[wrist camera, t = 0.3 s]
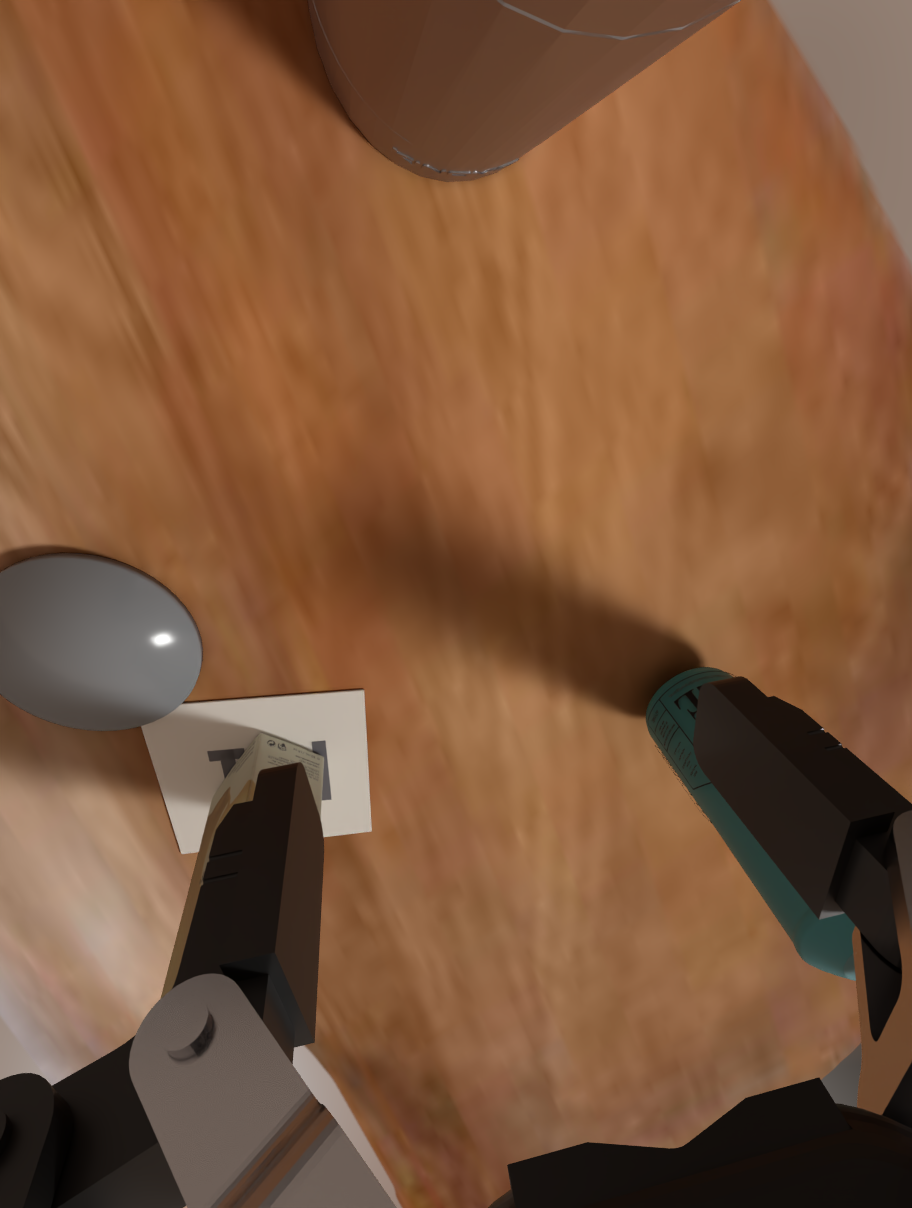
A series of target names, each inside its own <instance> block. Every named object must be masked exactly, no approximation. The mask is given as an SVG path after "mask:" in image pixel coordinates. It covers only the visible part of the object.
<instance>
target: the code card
mask: <svg viewBox="0 0 912 1208" xmlns="http://www.w3.org/2000/svg"><path fill="white" fill-rule="evenodd" d="M141 728H142V731H143V734H144V738H145V741H146V744H147V747H148V750H149V753H150V756H151V760H152V763H153V766H154V769H155V772H156V775H157V778H158V782H159V785H160V788H161V791H162V794H163V797H164V800H165V804H166V807H167V810H168V813H169V816H170V819H171V822H172V826H173V829H174V832H175V835H176V838H177V841H178V844H179V848H180V851H181V854H187V853H195V852H199V849H200V845H201V841H202V837H203V833H204V829H205V825H206V821H207V817H208V813H209V809H210V805H211V801H212V798H213V796H214V794H215V793H216V791H217V790H218V788H219V787H220V785H221V784H222V782H223V781H224V779H225V778H226V777H227V775H228V773H229V772H230V771H231V769H232V768H233V767H234V765H235V764H236V762H237V761H238V760H239V758H240V757H241V756H242V755H243V753H244V752H245V751H246V749H247V748H248V747H249V746H250V744H251V743H252V742H253V741H254V739H255V738H256V737H257V736H258V735H259V734H261V733H262V734H265V735H268V736H271V737H274V738H277V739H280V740H282V741H285V742H288V743H291V744H293V745H296V746H298V747H301V748H303V749H306V750H308V751H311V752H313V753H316V754H318V755H321V756H323V757H324V769H323V787H322V804H321V823H322V829H323V837H329V836H337V835H346V834H354V833H362V832H371V831H372V828H371V809H370V791H369V772H368V754H367V735H366V717H365V698H364V689H362V690H349V691H336V692H323V693H310V694H297V695H283V696H270V697H257V698H244V699H231V700H218V701H205V702H192V703H182V704H181V705H180V706H178V707H177V708H176V709H175V710H174V711H172V712H171V713H169V714H168V715H166V716H164V717H162V718H160V719H158V720H156V721H154V722H152V723H149V724H146V725H143V726H141Z"/></svg>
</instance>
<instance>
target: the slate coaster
mask: <svg viewBox="0 0 912 1208" xmlns="http://www.w3.org/2000/svg"><path fill="white" fill-rule="evenodd" d="M202 661H203V647H202V640H201V636H200V633H199V630H198V627H197V625H196V623H195V621H194V619H193V617H192V615H191V614H190V612H189V611H188V609H187V608H186V607H185V605H184V604H183V603H182V602H181V601H180V600H179V599H178V597H177V596H176V595H174V594H173V593H172V592H171V591H170V590H169V589H168V588H167V587H166V586H164V585H163V584H161V583H160V582H159V581H157V580H156V579H154V578H153V577H151V576H149V575H148V574H146V573H144V572H142V571H141V570H138V569H136V568H134V567H132V566H129V565H127V564H124V563H122V562H119V561H116V560H113V559H109V558H105V557H100V556H96V555H89V554H81V553H55V554H45V555H40V556H36V557H31V558H28V559H25V560H22V561H20V562H17V563H15V564H13V565H11V566H9V567H7V568H5V569H4V570H3V571H1V572H0V694H1V695H2V696H3V697H4V698H6V699H7V700H8V701H10V702H11V703H13V704H14V705H16V706H17V707H19V708H20V709H22V710H24V711H26V712H28V713H30V714H32V715H34V716H36V717H39V718H41V719H44V720H46V721H49V722H52V723H55V724H58V725H62V726H67V727H71V728H76V729H83V730H94V731H115V730H124V729H131V728H135V727H139V726H143V725H146V724H149V723H152V722H154V721H156V720H158V719H160V718H162V717H164V716H166V715H168V714H169V713H171V712H172V711H174V710H175V709H176V708H177V707H178V706H180V705H181V704H182V703H183V702H184V700H185V699H186V698H187V697H188V696H189V694H190V693H191V691H192V689H193V688H194V686H195V683H196V681H197V678H198V676H199V673H200V670H201V666H202Z"/></svg>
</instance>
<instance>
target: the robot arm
mask: <svg viewBox="0 0 912 1208" xmlns="http://www.w3.org/2000/svg"><path fill="white" fill-rule="evenodd" d="M739 1H741V0H308V7H309V12H310V17H311V21H312V26H313V31H314V36H315V40H316V45H317V50H318V52H319V55H320V58H321V60H322V63H323V66H324V68H325V71H326V74H327V76H328V79H329V82H330V84H331V87H332V89H333V90H334V92H335V94H336V96H337V97H338V99H339V101H340V102H341V104H342V106H343V108H344V109H345V111H346V113H347V115H348V116H349V118H350V120H351V121H352V122H353V123H354V124H355V126H356V127H357V128H358V129H359V130H360V132H361V133H362V134H363V135H364V136H365V138H366V139H367V140H368V141H369V142H370V144H371V145H372V146H374V147H375V148H376V149H377V150H379V151H380V152H381V153H382V154H384V155H385V156H386V157H387V158H389V159H390V160H391V161H392V162H394V163H395V164H396V165H399V166H401V167H403V168H405V169H407V170H409V171H411V172H413V173H415V174H417V175H419V176H421V177H426V178H430V179H435V180H440V181H445V182H455V181H472V180H475V179H478V178H481V177H484V176H487V175H491V174H494V173H497V172H498V171H500V170H501V169H503V168H505V167H506V166H508V165H511V164H513V163H515V162H516V161H518V160H519V158H520V157H522V156H523V155H524V154H526V153H527V152H529V151H530V150H531V149H533V148H534V147H536V146H537V145H539V144H541V143H542V142H543V141H545V140H546V139H548V138H549V137H550V136H552V135H553V134H555V133H556V132H557V131H559V130H560V129H562V128H563V127H564V126H566V125H567V124H569V123H570V122H571V121H573V120H574V119H576V118H577V117H578V116H580V115H581V114H583V113H584V112H585V111H587V110H588V109H590V108H591V107H592V106H594V105H595V104H597V103H598V102H599V101H601V100H602V99H604V98H605V97H606V96H608V95H609V94H611V93H612V92H613V91H615V90H616V89H618V88H619V87H620V86H622V85H623V84H625V83H626V82H627V81H629V80H630V79H632V78H633V77H634V76H636V75H637V74H639V73H640V72H641V71H643V70H644V69H646V68H647V67H648V66H650V65H651V64H653V63H654V62H655V61H657V60H658V59H660V58H661V57H662V56H664V55H665V54H667V53H668V52H669V51H671V50H672V49H674V48H675V47H676V46H678V45H679V44H681V43H682V42H683V41H685V40H686V39H688V38H689V37H690V36H692V35H693V34H695V33H696V32H697V31H699V30H700V29H702V28H703V27H704V26H706V25H707V24H709V23H710V22H711V21H713V20H714V19H716V18H717V17H718V16H720V15H721V14H723V13H724V12H725V11H727V10H728V9H730V8H731V7H732V6H734V5H735V4H737V3H738V2H739ZM693 747H694V753H695V756H696V759H697V762H698V764H699V766H700V768H701V770H702V771H703V773H704V774H705V775H706V776H707V778H708V779H709V780H710V782H711V783H712V784H713V785H714V787H715V788H716V789H717V790H718V792H719V793H720V794H721V796H722V797H723V798H724V799H725V801H726V802H727V803H728V804H729V806H730V807H731V808H732V810H733V811H734V812H735V813H736V815H737V816H738V817H739V818H740V820H741V821H742V822H743V824H744V825H745V826H746V827H747V829H748V830H749V831H750V833H751V834H752V835H753V836H754V838H755V839H756V840H757V841H758V843H759V844H760V845H761V847H762V848H763V849H764V850H765V852H766V853H767V854H768V855H769V857H770V858H771V859H772V861H773V862H774V863H775V864H776V866H777V867H778V868H779V869H780V871H781V872H782V873H783V875H784V876H785V877H786V878H787V880H788V881H789V882H790V883H791V885H792V886H793V887H794V889H795V890H796V891H797V892H798V894H799V895H800V896H801V897H802V899H803V900H804V901H805V903H806V904H807V905H808V906H809V908H810V909H811V910H812V912H813V913H814V914H815V915H816V917H817V918H818V919H819V920H820V919H824V918H828V917H832V916H836V915H840V914H844V913H845V914H846V915H847V916H848V917H849V919H850V920H851V921H852V922H853V923H854V924H855V927H854V930H853V933H852V944H853V955H854V966H855V977H856V988H857V999H858V1010H859V1021H860V1032H861V1043H862V1065H861V1073H860V1079H859V1086H858V1100H857V1107H852V1106H847V1105H843V1104H835V1102H834V1101H833V1099H832V1097H831V1096H830V1094H829V1093H828V1091H827V1089H826V1088H825V1086H824V1085H823V1083H822V1081H821V1080H820V1078H815V1079H812V1080H808V1081H805V1082H801V1083H798V1084H794V1085H790V1086H787V1087H783V1088H780V1089H776V1090H773V1091H769V1092H765V1093H762V1094H758V1095H755V1096H751V1097H748V1098H745V1099H744V1100H743V1101H741V1102H740V1103H739V1104H737V1105H736V1106H735V1107H734V1108H732V1109H731V1110H730V1111H728V1112H727V1113H726V1114H725V1115H723V1116H722V1117H721V1118H719V1119H718V1120H717V1121H716V1122H714V1123H713V1124H712V1125H710V1126H709V1127H708V1128H707V1129H705V1130H704V1131H703V1132H701V1133H700V1134H699V1135H698V1136H696V1137H695V1138H694V1139H692V1140H691V1141H690V1142H688V1143H687V1144H686V1145H684V1146H682V1147H679V1148H673V1149H668V1148H655V1147H642V1146H629V1145H616V1144H603V1143H589V1142H587V1143H583V1144H580V1145H576V1146H573V1147H569V1148H565V1149H562V1150H558V1151H555V1152H551V1153H548V1154H544V1155H541V1156H537V1157H533V1158H530V1159H526V1160H523V1161H519V1162H516V1163H512V1164H508V1165H507V1166H508V1172H509V1179H510V1185H511V1190H509V1191H508V1192H507V1193H505V1194H504V1195H503V1196H501V1197H500V1198H499V1199H497V1200H496V1201H495V1202H493V1203H492V1204H491V1205H490V1206H489V1207H488V1208H912V804H911V803H910V802H909V801H908V800H906V799H905V798H904V797H903V796H902V795H901V794H899V793H898V792H897V791H896V790H895V789H894V788H892V787H891V786H890V785H889V784H888V783H887V782H885V781H884V780H883V779H882V778H881V777H880V776H878V775H877V774H876V773H875V772H874V771H873V770H871V769H870V768H869V767H868V766H867V765H866V764H864V763H863V762H862V761H861V760H860V759H859V758H857V757H856V756H855V755H854V754H853V753H852V752H850V751H849V750H848V749H847V748H843V747H842V744H841V743H840V742H839V741H838V740H836V739H835V738H834V737H833V736H832V735H831V734H829V733H828V732H827V733H825V732H824V728H822V727H821V726H820V725H819V724H818V723H817V722H815V721H814V720H813V719H812V718H811V717H810V716H808V715H807V714H806V713H805V712H804V711H803V710H801V709H799V708H797V707H795V706H793V705H791V704H789V703H787V702H785V701H783V700H781V699H779V698H777V697H775V696H772V697H767V696H766V695H765V694H763V693H762V692H761V691H760V690H759V689H758V688H757V687H756V686H755V685H753V684H752V683H751V682H750V681H749V680H748V679H746V678H744V677H734V678H729V679H723V680H718V681H713V682H708V683H704V684H703V685H702V686H701V688H700V690H699V697H698V705H697V713H696V721H695V729H694V737H693ZM323 863H324V838H323V829H322V823H321V819H320V815H319V812H318V809H317V806H316V803H315V799H314V796H313V793H312V790H311V787H310V784H309V780H308V777H307V774H306V771H305V768H304V766H303V764H302V763H301V762H297V763H292V764H287V765H282V766H277V767H272V768H267V769H262V770H260V772H259V774H258V777H257V782H256V787H255V791H254V796H253V801H248V802H243V803H238V804H234V805H233V806H232V807H231V809H230V810H229V812H228V813H227V815H226V816H225V817H224V819H223V820H222V822H221V823H220V825H219V826H218V827H217V829H216V831H215V835H214V839H213V842H212V846H211V850H210V854H209V862H207V865H206V869H205V872H204V876H203V885H201V887H200V891H199V895H198V899H197V903H196V906H195V910H194V914H193V918H192V921H191V925H190V929H189V933H188V936H187V940H186V944H185V948H184V951H183V955H182V959H181V963H180V967H179V970H178V974H177V977H176V980H175V983H174V985H173V987H172V989H171V990H170V991H169V992H168V993H167V994H166V995H164V996H163V997H162V998H161V999H160V1000H159V1001H158V1002H157V1003H156V1004H155V1006H154V1007H153V1008H152V1009H151V1010H150V1012H149V1013H148V1014H147V1016H146V1017H145V1019H144V1020H143V1022H142V1024H141V1025H140V1027H139V1029H138V1031H137V1033H136V1035H135V1036H134V1037H133V1038H131V1039H130V1040H129V1041H127V1042H126V1043H125V1044H123V1045H122V1046H120V1047H119V1048H117V1049H115V1050H114V1051H112V1052H110V1053H109V1054H107V1055H105V1056H103V1057H102V1058H100V1059H98V1060H96V1061H95V1062H93V1063H91V1064H89V1065H88V1066H86V1067H84V1068H82V1069H81V1070H79V1071H77V1072H75V1073H74V1074H72V1075H70V1076H68V1077H67V1078H65V1079H63V1080H61V1081H60V1082H58V1083H56V1084H54V1085H53V1086H51V1084H50V1083H49V1082H48V1081H47V1080H46V1079H44V1078H43V1077H41V1076H40V1075H36V1074H32V1073H22V1074H17V1075H13V1076H9V1077H7V1078H4V1079H2V1080H0V1208H183V1207H185V1206H186V1205H187V1208H396V1206H395V1205H394V1203H393V1202H392V1201H391V1199H390V1197H389V1196H388V1195H387V1193H386V1192H385V1191H384V1189H383V1187H382V1186H381V1184H380V1183H379V1182H378V1180H377V1179H376V1177H375V1176H374V1174H373V1173H372V1172H371V1170H370V1169H369V1167H368V1166H367V1164H366V1163H365V1161H364V1160H363V1159H362V1157H361V1156H360V1154H359V1153H358V1152H357V1150H356V1148H355V1147H354V1146H353V1144H352V1143H351V1141H350V1140H349V1138H348V1137H347V1136H346V1134H345V1133H344V1131H343V1130H342V1128H341V1127H340V1125H339V1124H338V1123H337V1121H336V1120H335V1119H334V1117H333V1116H332V1115H331V1113H330V1112H329V1111H328V1110H327V1108H326V1107H325V1106H324V1105H323V1104H320V1103H319V1102H318V1100H317V1099H316V1098H315V1097H314V1095H313V1094H312V1092H311V1091H310V1089H309V1088H308V1087H307V1085H306V1084H305V1082H304V1081H303V1079H302V1078H301V1076H300V1075H299V1074H298V1072H297V1071H296V1069H295V1068H294V1067H293V1065H292V1064H293V1051H294V1047H298V1046H302V1045H306V1044H310V1043H314V1042H315V1023H316V1003H317V983H318V963H319V943H320V923H321V903H322V883H323Z"/></svg>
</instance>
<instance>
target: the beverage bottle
mask: <svg viewBox="0 0 912 1208" xmlns="http://www.w3.org/2000/svg"><path fill="white" fill-rule="evenodd" d="M732 675H733V674H732ZM729 678H734V677H733V676H731V675H730V673H729V674H728V673H727V672H724V671H722V670H719V669H716V668H710V667H702V668H695V669H691V670H688V671H685V672H683V673H680V674H678V675H676V676H675V677H673V678H671V679H670V680H669V681H667V682H666V683H665V684H664V685H662V686H661V687H660V688H659V689H658V690H657V692H656V693H655V694H654V696H653V697H652V699H651V701H650V703H649V705H648V707H647V711H646V723H647V727H648V731H649V733H650V735H651V737H652V738H653V740H654V741H655V743H656V744H657V745H658V747H659V749H660V750H661V751H662V754H664V758H665V757H666V758H667V760H668V761H669V762H668V761H667V760H666V761H667V762H668V764H669V763H670V764H671V765H670V764H669V765H670V766H672V767H673V768H672V769H674V770H675V771H676V773H677V774H678V777H679V778H680V779H681V780H682V782H683V783H684V784H685V786H686V787H687V789H688V790H689V792H690V793H691V794H690V795H692V796H693V797H694V799H695V800H696V802H697V803H698V804H697V803H696V804H697V805H699V806H700V807H701V809H702V810H703V813H705V814H706V815H707V817H708V818H709V819H710V822H711V823H712V824H713V825H714V827H715V828H716V830H717V831H718V832H719V834H720V835H721V837H722V838H723V840H724V841H725V843H726V844H727V846H728V847H729V849H730V850H731V852H732V853H733V855H734V856H735V858H736V859H737V861H738V862H739V863H740V865H741V866H742V868H743V869H744V871H745V872H746V874H747V875H748V877H749V878H750V880H751V881H752V883H753V884H754V886H755V887H756V889H757V890H758V891H759V893H760V894H761V896H762V897H763V899H764V900H765V902H766V903H767V905H768V906H769V908H770V909H771V911H772V912H773V914H774V915H775V917H776V918H777V919H778V921H779V922H780V924H781V925H782V927H783V928H784V930H785V931H786V933H787V934H788V936H789V937H790V939H791V940H792V942H793V943H794V946H795V948H796V951H797V952H798V954H799V955H800V956H801V958H802V959H803V960H804V961H805V962H807V963H808V964H809V965H811V966H814V967H816V968H818V969H820V970H823V971H825V972H828V973H831V974H834V975H837V976H840V977H843V978H847V979H851V980H855V981H856V977H855V966H854V955H853V944H852V933H853V930H854V927H855V924H854V923H853V922H852V921H851V920H850V919H849V917H848V916H847V915H846V914H845V913H844V914H840V915H836V916H832V917H828V918H824V919H820V920H819V919H818V918H817V917H816V915H815V914H814V913H813V912H812V910H811V909H810V908H809V906H808V905H807V904H806V903H805V901H804V900H803V899H802V897H801V896H800V895H799V894H798V892H797V891H796V890H795V889H794V887H793V886H792V885H791V883H790V882H789V881H788V880H787V878H786V877H785V876H784V875H783V873H782V872H781V871H780V869H779V868H778V867H777V866H776V864H775V863H774V862H773V861H772V859H771V858H770V857H769V855H768V854H767V853H766V852H765V850H764V849H763V848H762V847H761V845H760V844H759V843H758V841H757V840H756V839H755V838H754V836H753V835H752V834H751V833H750V831H749V830H748V829H747V827H746V826H745V825H744V824H743V822H742V821H741V820H740V818H739V817H738V816H737V815H736V813H735V812H734V811H733V810H732V808H731V807H730V806H729V804H728V803H727V802H726V801H725V799H724V798H723V797H722V796H721V794H720V793H719V792H718V790H717V789H716V788H715V787H714V785H713V784H712V783H711V782H710V780H709V779H708V778H707V776H706V775H705V774H704V773H703V771H702V770H701V768H700V766H699V764H698V762H697V759H696V756H695V753H694V747H693V737H694V729H695V721H696V713H697V705H698V697H699V690H700V688H701V686H702V685H703V684H704V683H708V682H713V681H718V680H723V679H729ZM655 747H656V746H655ZM658 747H657V748H658ZM657 750H658V749H657ZM659 753H660V752H659ZM667 762H666V763H667ZM669 765H668V766H669ZM670 769H671V768H670ZM674 770H673V771H674ZM675 775H676V774H675ZM676 776H677V775H676ZM677 779H678V778H677ZM681 780H680V781H681ZM680 781H679V782H680ZM683 783H682V784H683ZM682 784H681V785H682ZM684 784H683V785H684ZM683 788H684V787H683ZM690 798H691V797H690ZM692 801H693V800H692ZM694 804H695V803H694ZM702 810H701V811H702ZM699 811H700V810H699Z"/></svg>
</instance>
